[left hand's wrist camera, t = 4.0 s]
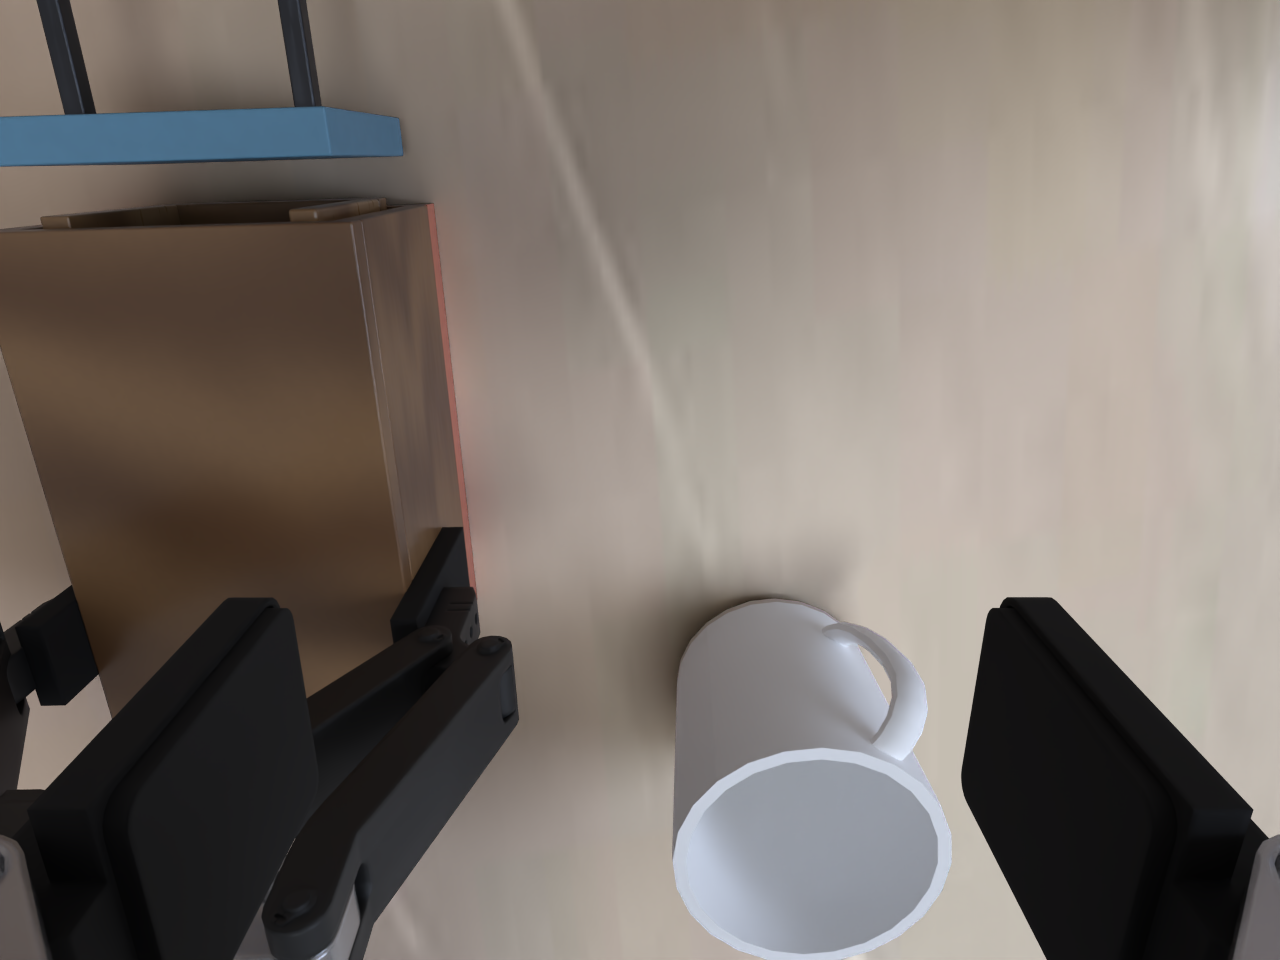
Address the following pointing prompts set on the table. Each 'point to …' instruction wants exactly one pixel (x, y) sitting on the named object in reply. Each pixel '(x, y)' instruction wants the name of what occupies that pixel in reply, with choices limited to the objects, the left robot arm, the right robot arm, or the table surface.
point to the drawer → (196, 135)
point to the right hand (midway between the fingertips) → (307, 563)
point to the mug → (802, 786)
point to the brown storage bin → (237, 425)
